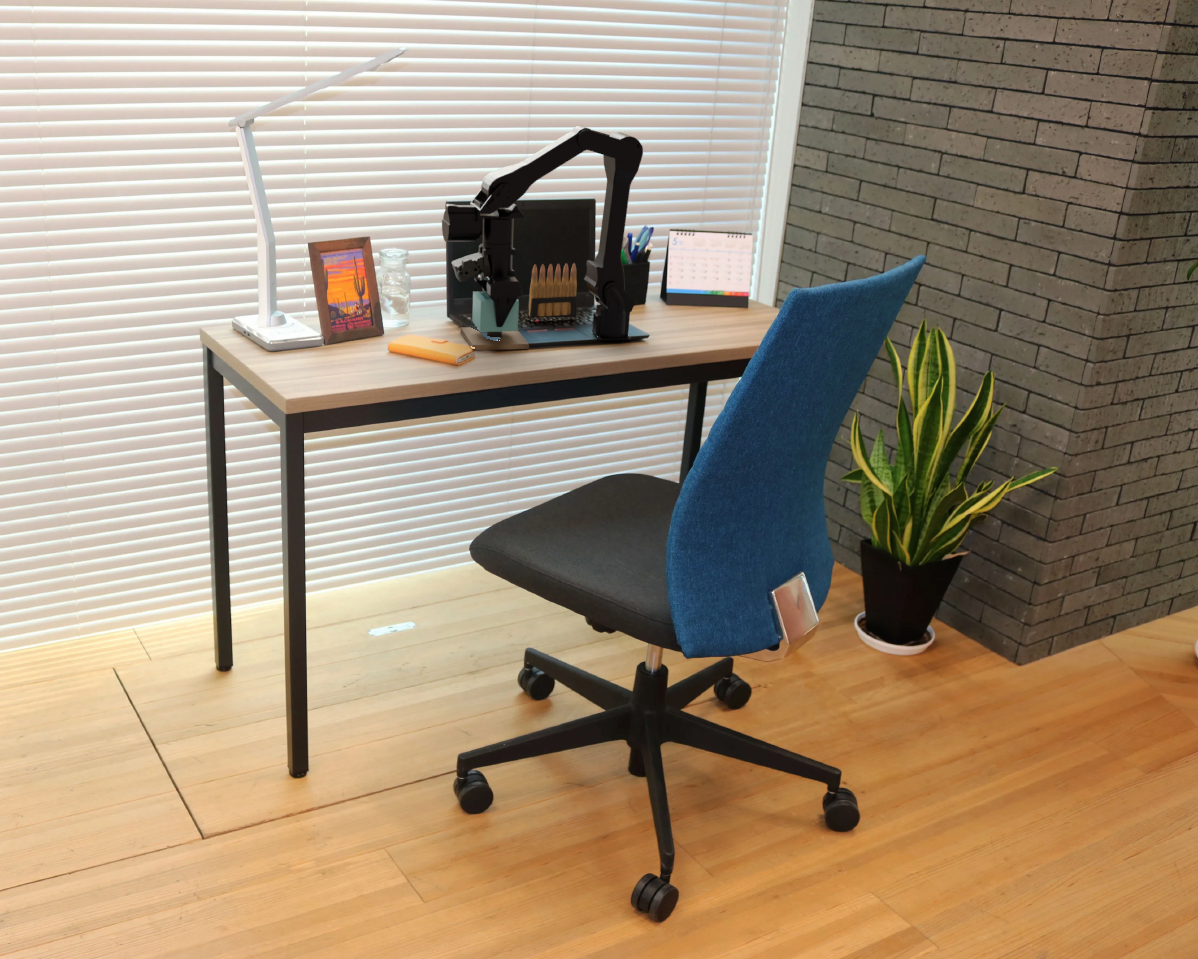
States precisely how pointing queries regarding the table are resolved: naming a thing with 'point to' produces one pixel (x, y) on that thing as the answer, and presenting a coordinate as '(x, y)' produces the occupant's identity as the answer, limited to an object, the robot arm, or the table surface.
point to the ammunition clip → (553, 293)
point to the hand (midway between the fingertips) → (495, 321)
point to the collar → (491, 314)
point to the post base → (506, 342)
